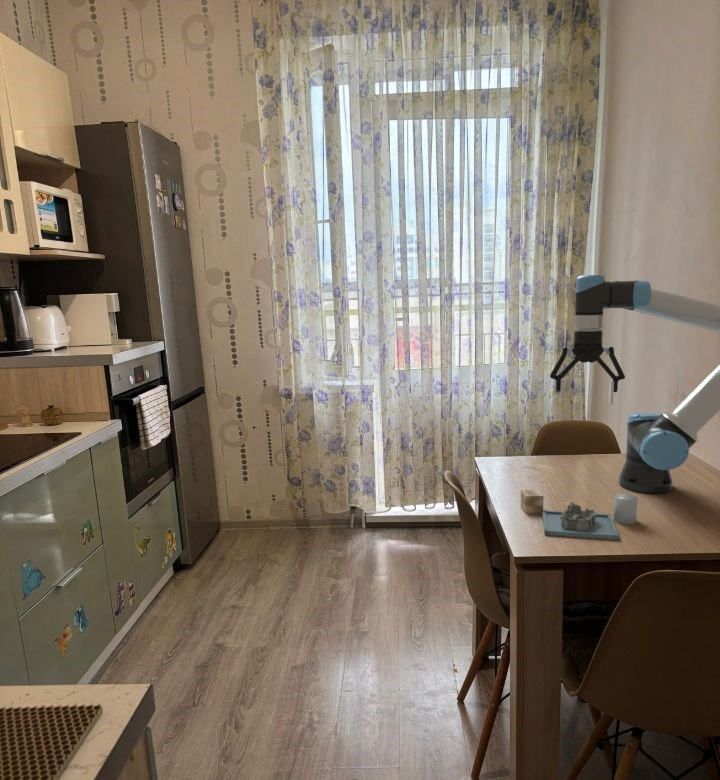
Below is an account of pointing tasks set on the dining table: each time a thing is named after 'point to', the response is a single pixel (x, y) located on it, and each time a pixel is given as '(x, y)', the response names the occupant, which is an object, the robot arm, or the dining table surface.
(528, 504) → the oak block
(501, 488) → the dining table surface
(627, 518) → the white cylinder
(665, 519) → the dining table surface
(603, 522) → the tray
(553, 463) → the dining table surface
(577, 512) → the grey castle model
